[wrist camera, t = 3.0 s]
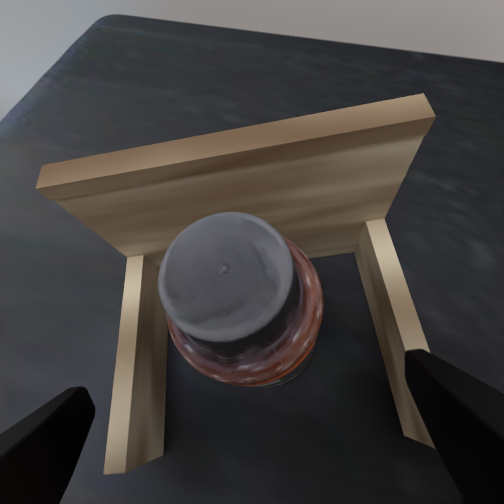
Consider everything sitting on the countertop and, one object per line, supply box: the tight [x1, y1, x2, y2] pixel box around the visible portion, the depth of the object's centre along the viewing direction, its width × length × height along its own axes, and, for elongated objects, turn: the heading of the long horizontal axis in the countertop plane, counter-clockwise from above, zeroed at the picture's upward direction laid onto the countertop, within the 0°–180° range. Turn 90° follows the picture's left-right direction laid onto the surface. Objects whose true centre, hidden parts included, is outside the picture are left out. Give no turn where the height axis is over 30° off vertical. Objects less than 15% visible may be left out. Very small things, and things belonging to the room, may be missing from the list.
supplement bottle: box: [158, 212, 323, 388], centre depth 13 cm, size 6×6×11 cm
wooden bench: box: [35, 93, 436, 475], centre depth 13 cm, size 12×15×11 cm
